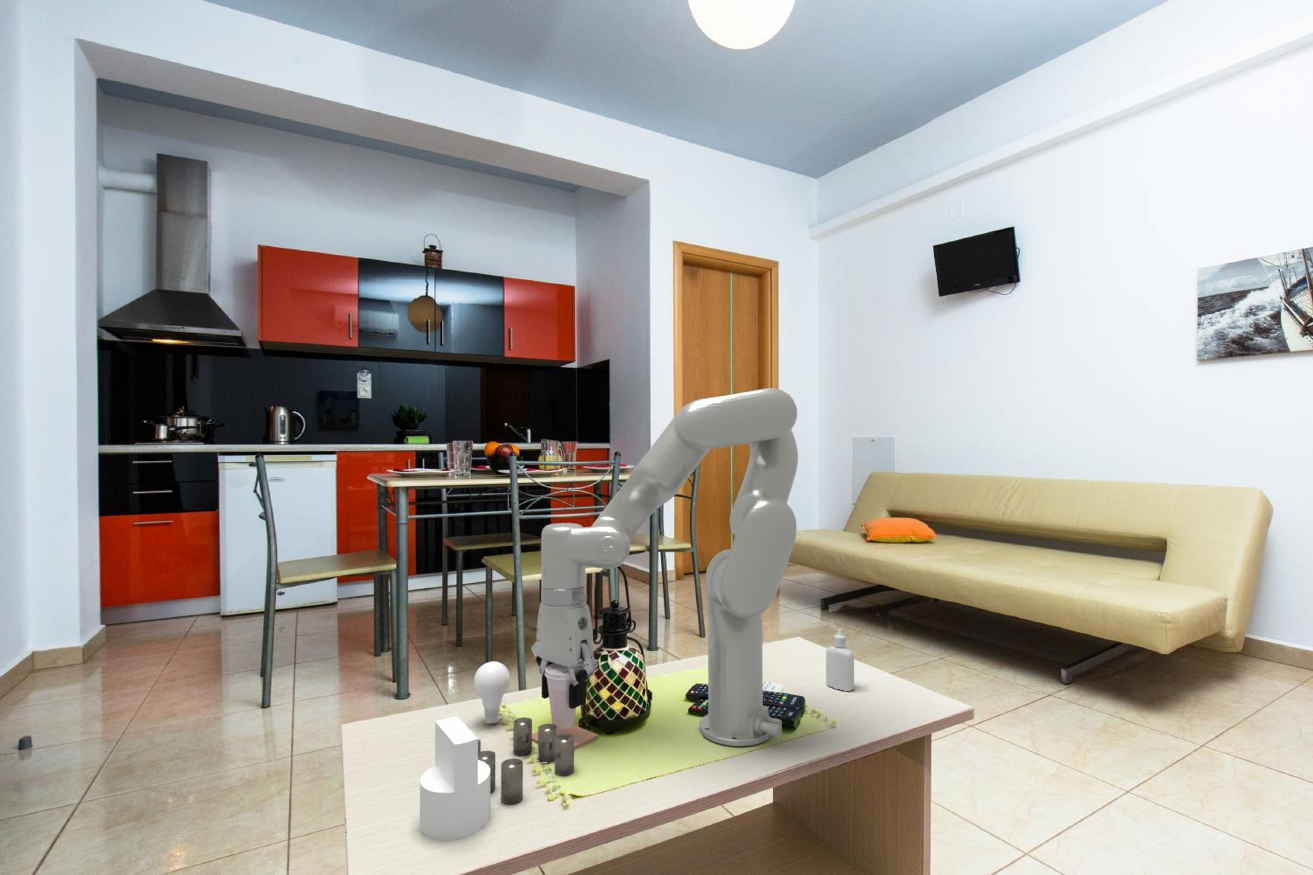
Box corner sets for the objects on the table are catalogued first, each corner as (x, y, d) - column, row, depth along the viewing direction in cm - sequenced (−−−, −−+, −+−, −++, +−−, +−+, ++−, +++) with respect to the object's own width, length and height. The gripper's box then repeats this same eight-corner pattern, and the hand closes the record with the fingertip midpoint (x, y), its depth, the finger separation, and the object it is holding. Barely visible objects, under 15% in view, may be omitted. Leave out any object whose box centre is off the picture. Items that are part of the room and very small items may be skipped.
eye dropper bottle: (842, 681, 135) (841, 625, 136) (857, 691, 130) (856, 632, 130) (823, 683, 134) (823, 626, 134) (837, 693, 129) (837, 633, 129)
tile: (598, 737, 109) (598, 734, 109) (563, 754, 103) (563, 751, 103) (562, 723, 115) (562, 720, 115) (527, 739, 109) (527, 736, 109)
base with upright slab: (500, 824, 84) (500, 732, 84) (431, 849, 79) (431, 751, 79) (476, 794, 92) (477, 710, 92) (412, 815, 86) (412, 726, 87)
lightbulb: (488, 734, 111) (489, 670, 111) (466, 724, 115) (466, 663, 115) (517, 721, 116) (517, 661, 116) (494, 713, 120) (494, 654, 120)
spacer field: (582, 767, 99) (582, 735, 99) (504, 810, 87) (504, 773, 87) (528, 743, 107) (528, 713, 107) (450, 779, 96) (450, 746, 96)
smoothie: (589, 724, 109) (590, 642, 109) (559, 736, 105) (559, 651, 105) (566, 713, 114) (567, 634, 114) (536, 724, 109) (537, 642, 109)
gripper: (615, 599, 107) (614, 706, 107) (546, 585, 118) (546, 683, 118) (582, 607, 101) (582, 721, 101) (514, 592, 112) (513, 695, 112)
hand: (563, 699), depth 109 cm, fingers closed on smoothie, 6 cm apart
